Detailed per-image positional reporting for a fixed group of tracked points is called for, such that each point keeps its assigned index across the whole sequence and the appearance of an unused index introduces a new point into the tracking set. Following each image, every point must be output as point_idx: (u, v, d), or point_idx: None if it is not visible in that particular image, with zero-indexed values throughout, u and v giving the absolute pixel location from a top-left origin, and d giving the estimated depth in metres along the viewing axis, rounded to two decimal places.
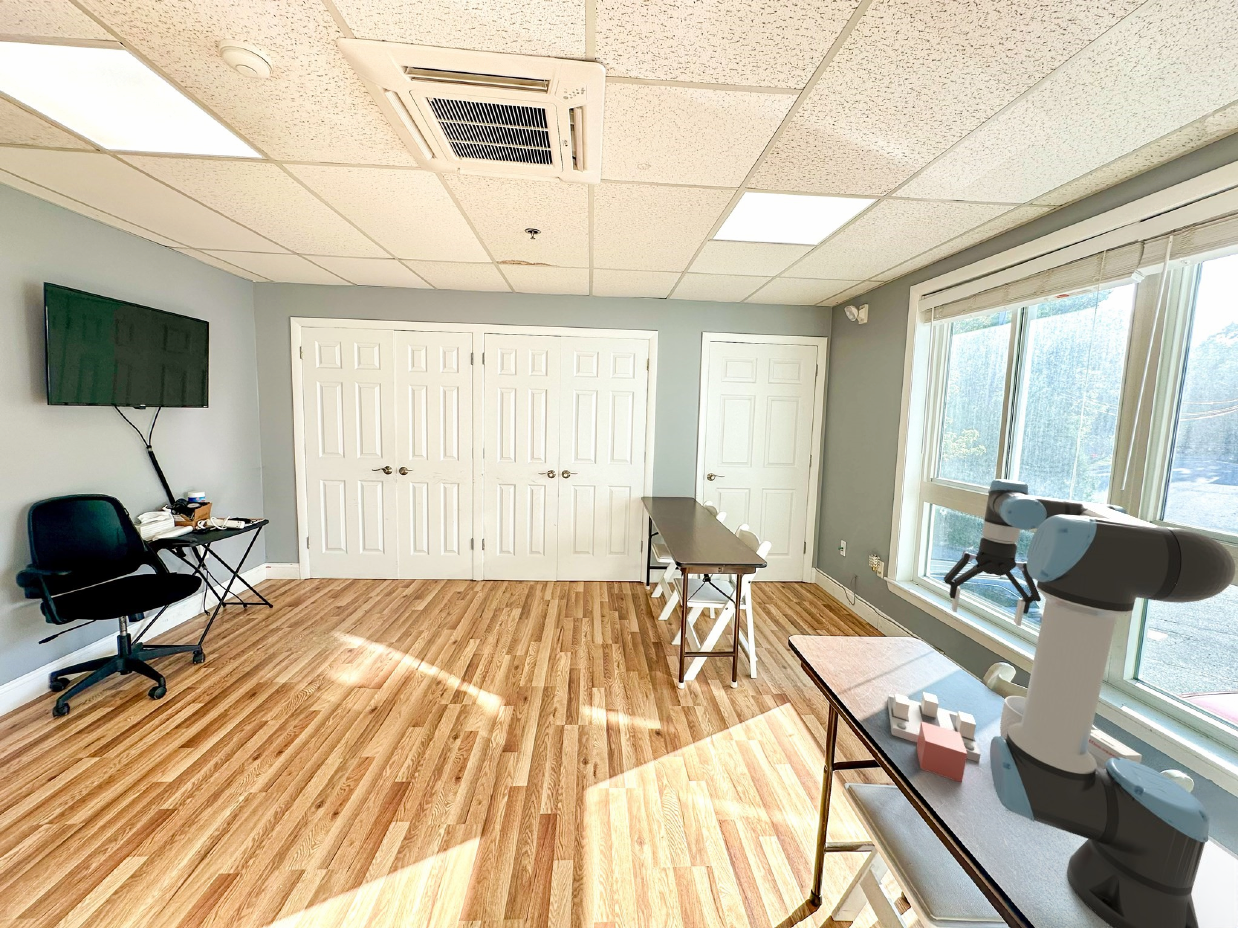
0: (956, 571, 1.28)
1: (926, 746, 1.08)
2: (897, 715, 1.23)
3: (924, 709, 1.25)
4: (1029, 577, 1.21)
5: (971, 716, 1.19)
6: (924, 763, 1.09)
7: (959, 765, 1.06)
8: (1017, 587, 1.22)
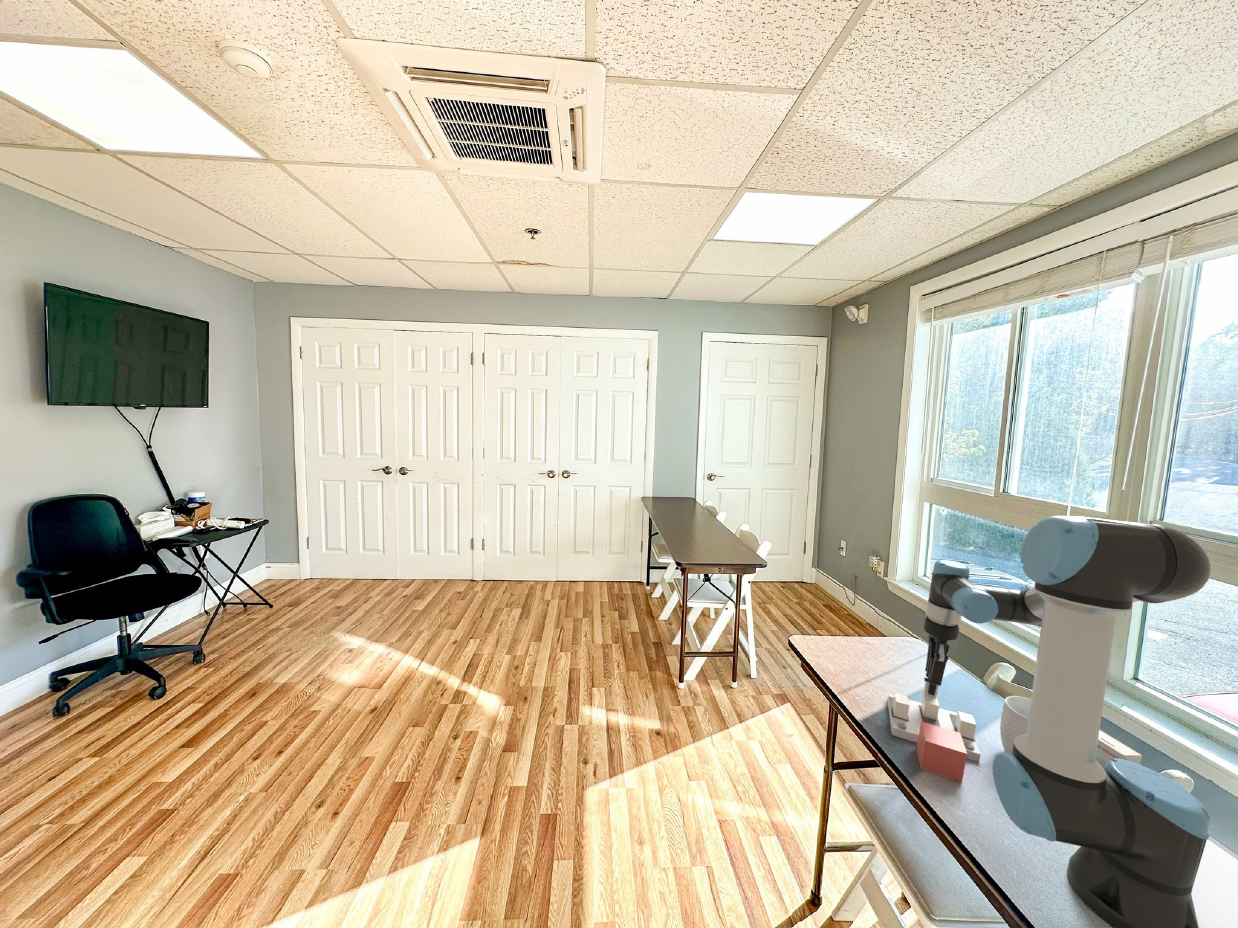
0: (927, 655, 1.30)
1: (926, 746, 1.08)
2: (897, 715, 1.23)
3: (925, 711, 1.24)
4: (933, 663, 1.22)
5: (971, 716, 1.19)
6: (924, 763, 1.09)
7: (959, 765, 1.06)
8: (930, 665, 1.26)
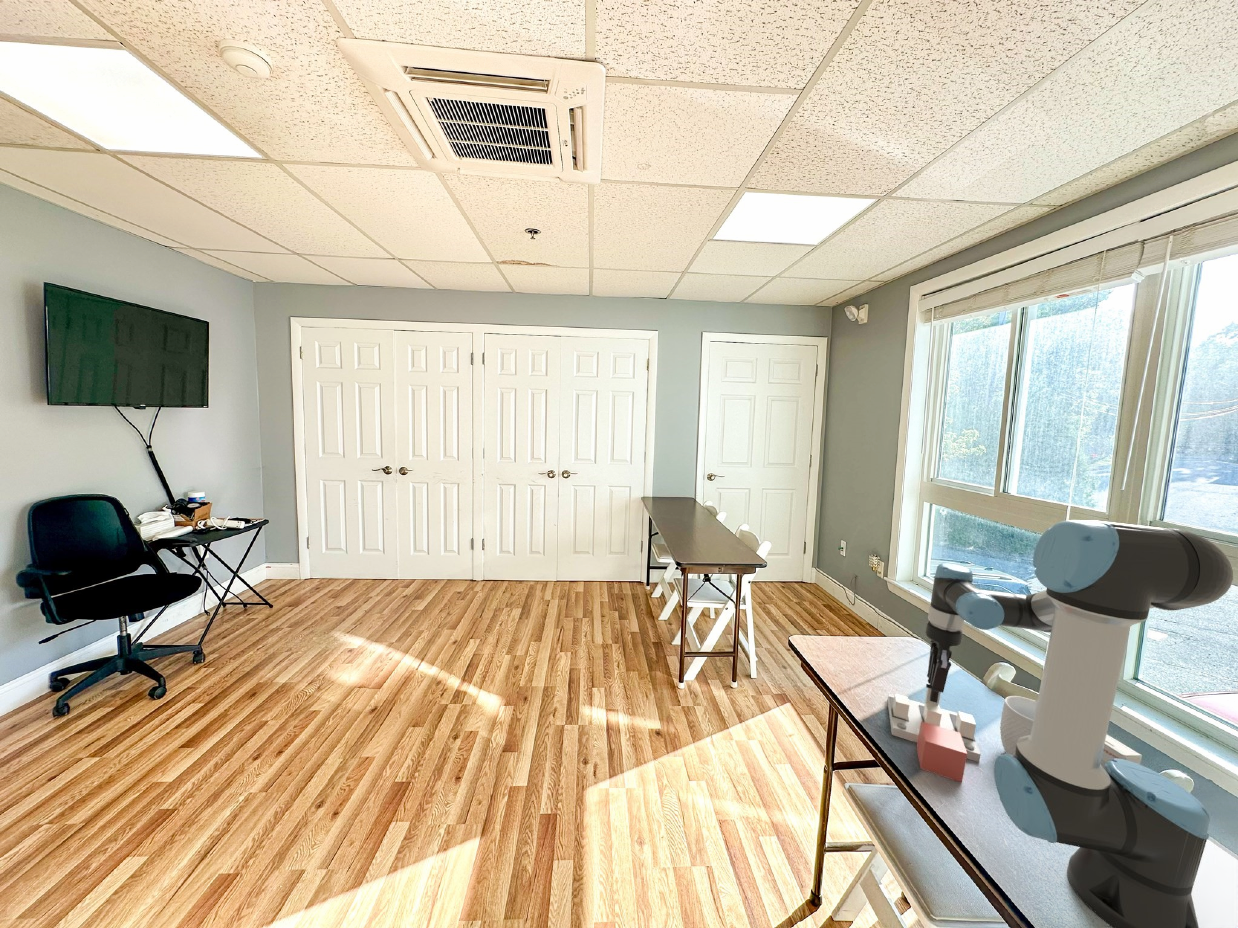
0: (929, 661, 1.27)
1: (926, 746, 1.08)
2: (897, 715, 1.23)
3: (927, 719, 1.21)
4: (935, 669, 1.19)
5: (971, 716, 1.19)
6: (924, 763, 1.09)
7: (959, 765, 1.06)
8: (932, 671, 1.23)
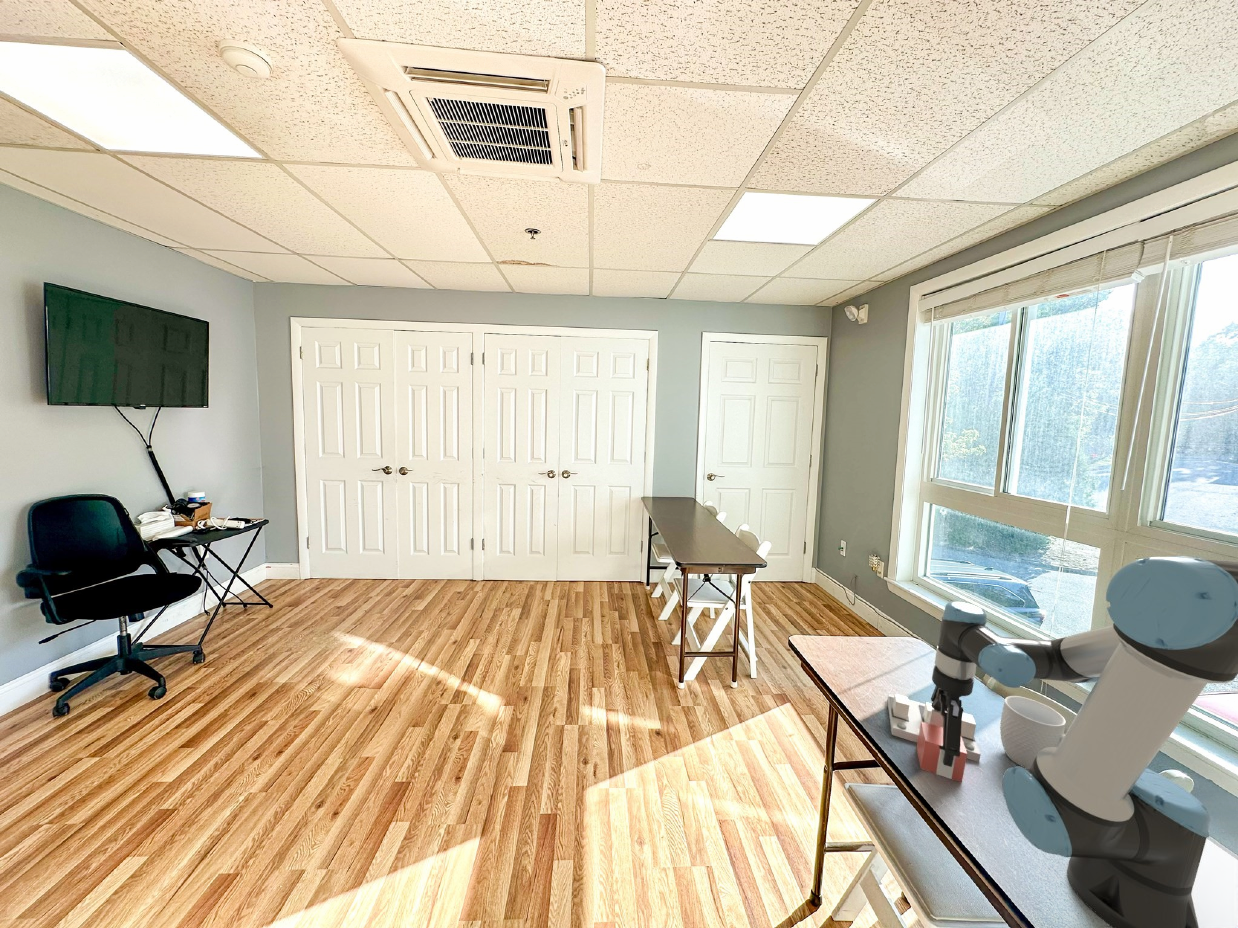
0: (934, 690, 1.17)
1: (926, 746, 1.08)
2: (897, 715, 1.23)
3: (927, 720, 1.21)
4: (947, 720, 1.03)
5: (971, 716, 1.19)
6: (924, 763, 1.09)
7: (959, 765, 1.06)
8: (943, 728, 1.05)
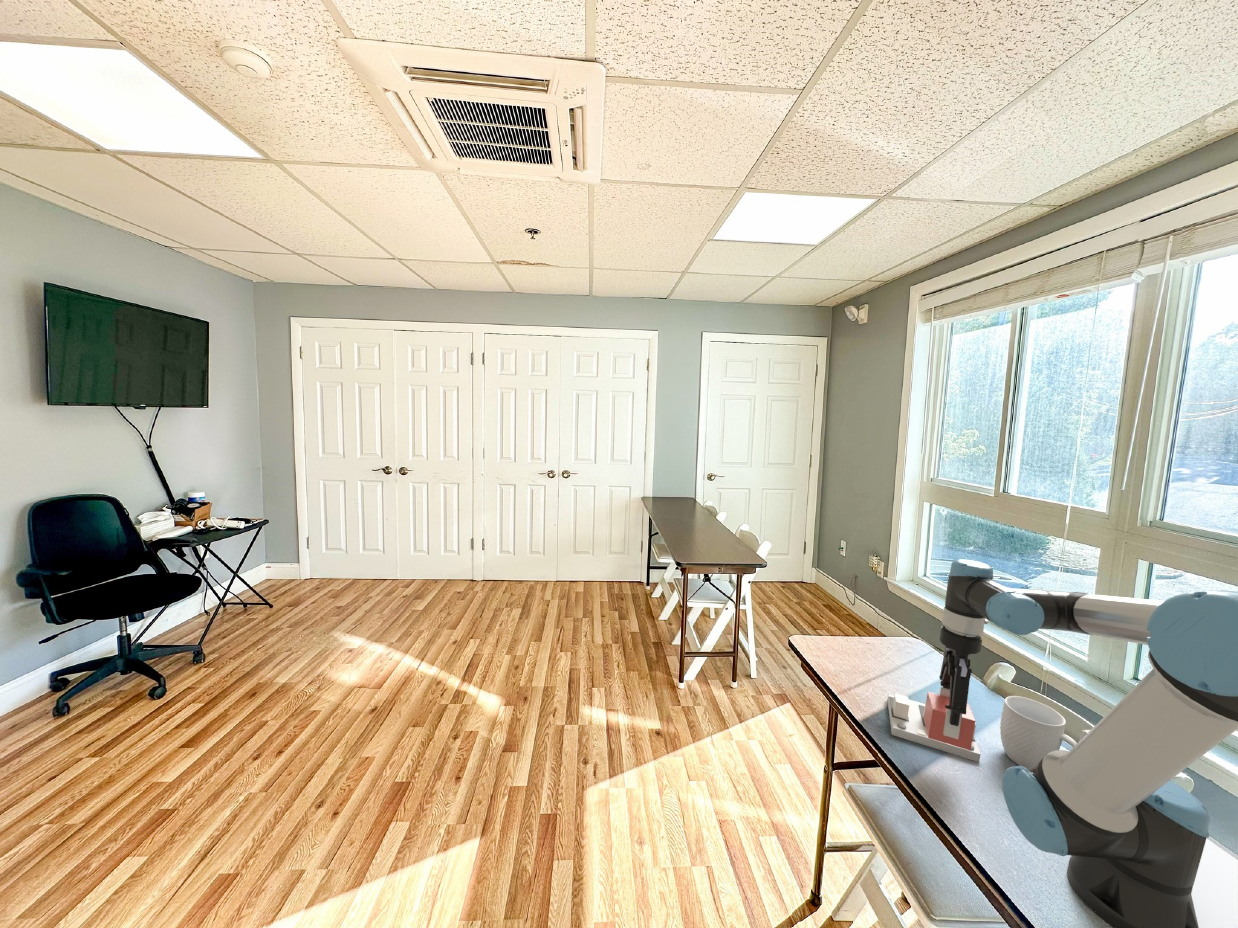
0: (942, 664, 1.14)
1: (933, 714, 1.06)
2: (897, 715, 1.23)
3: None
4: (954, 681, 1.02)
5: None
6: (932, 732, 1.07)
7: (967, 733, 1.04)
8: (950, 687, 1.05)
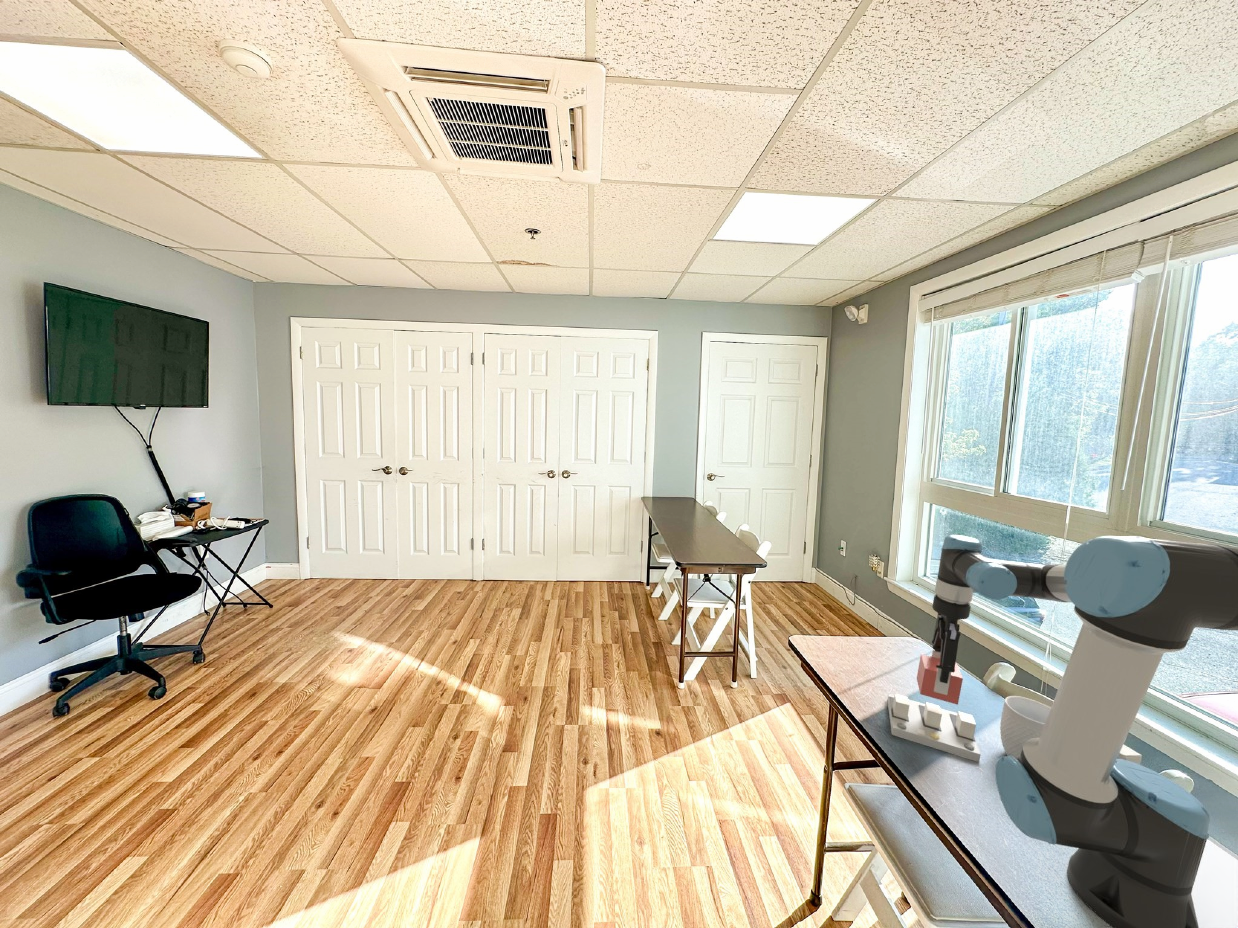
0: (935, 629, 1.25)
1: (925, 673, 1.18)
2: (897, 715, 1.23)
3: (927, 720, 1.21)
4: (945, 643, 1.14)
5: (971, 716, 1.19)
6: (923, 689, 1.19)
7: (955, 689, 1.16)
8: (941, 649, 1.17)
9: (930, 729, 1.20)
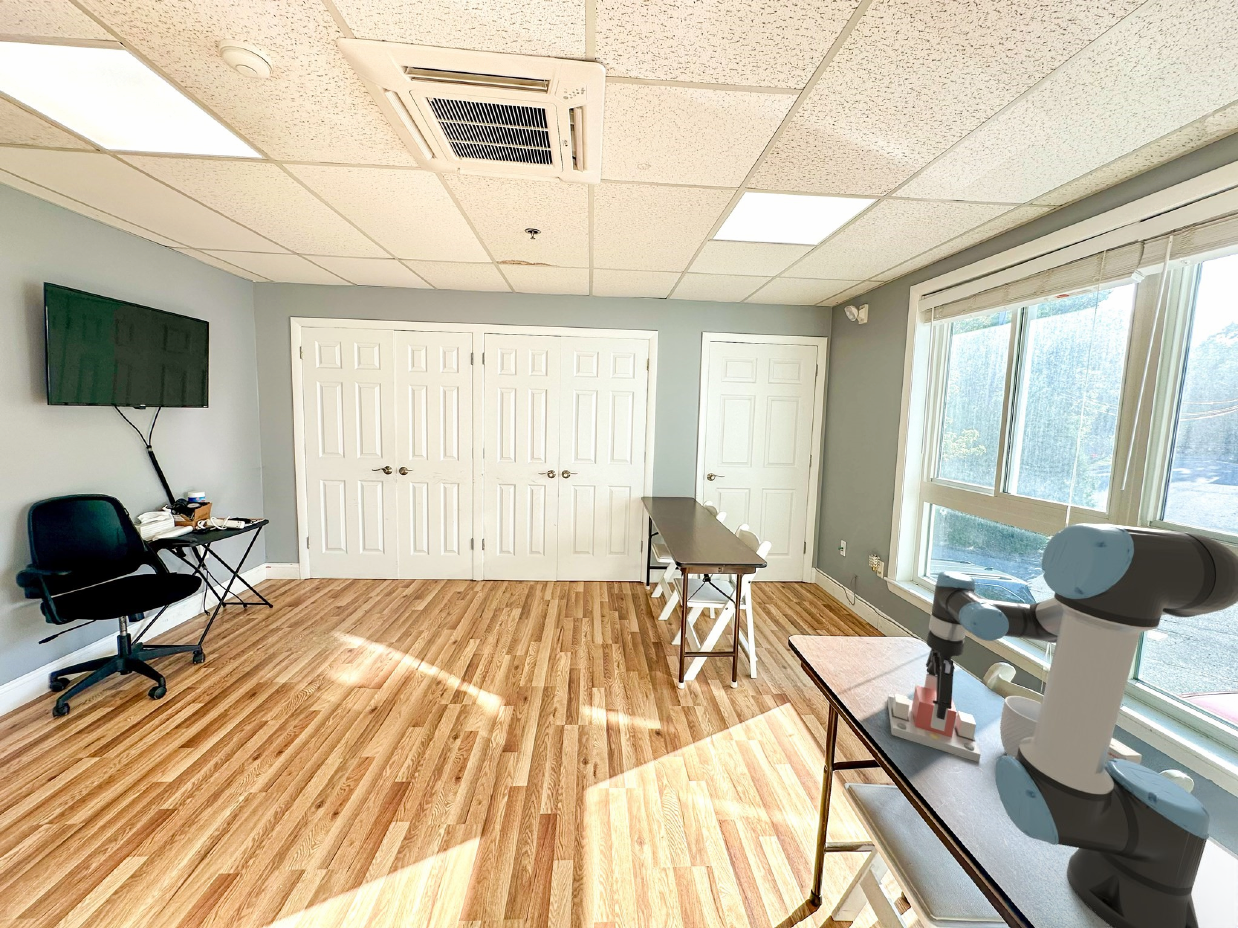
0: (929, 656, 1.28)
1: (920, 706, 1.19)
2: (897, 715, 1.23)
3: None
4: (940, 677, 1.14)
5: (971, 716, 1.19)
6: (918, 721, 1.20)
7: (949, 722, 1.17)
8: (936, 685, 1.16)
9: None
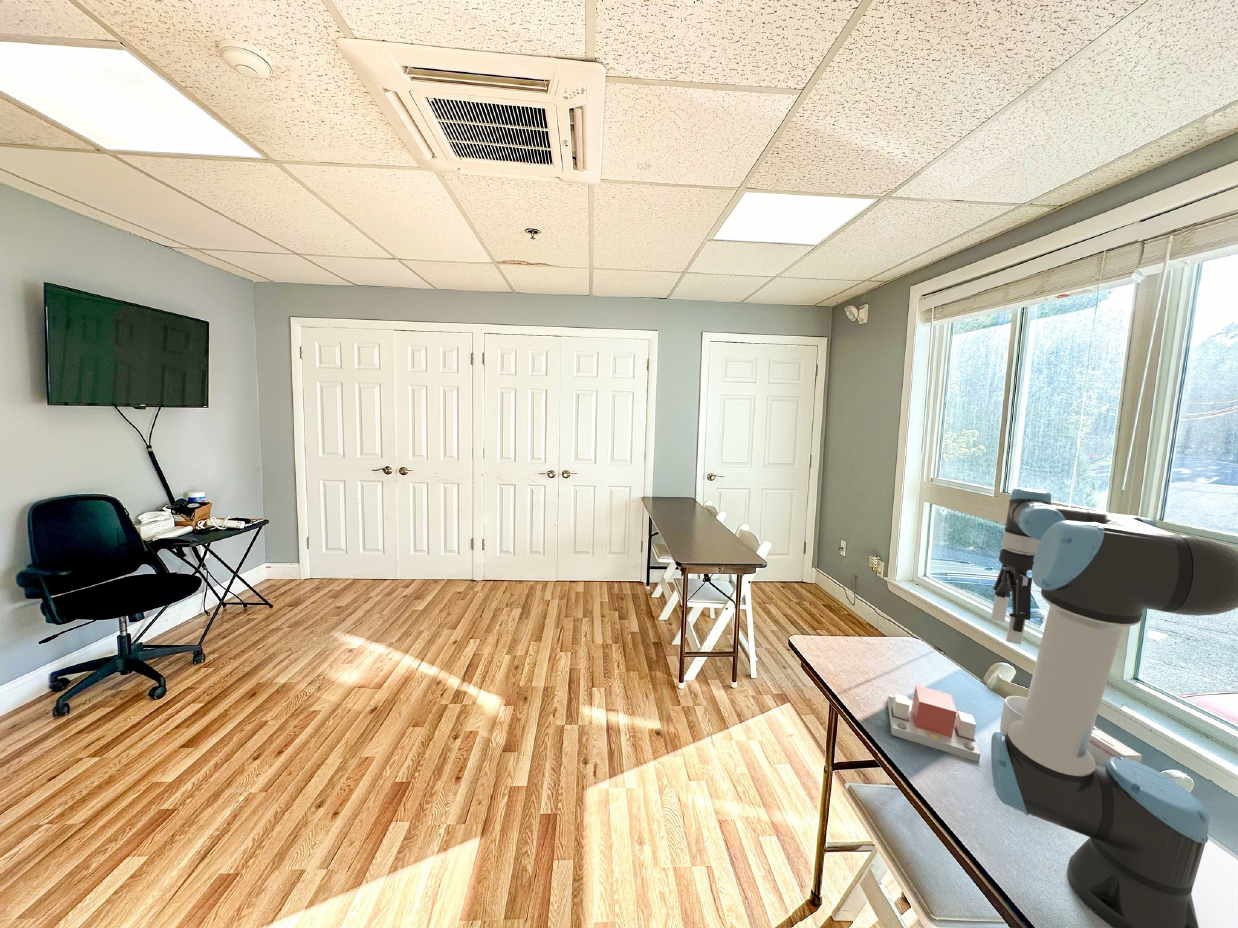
0: (998, 578, 1.28)
1: (920, 706, 1.19)
2: (897, 715, 1.23)
3: None
4: (1017, 590, 1.14)
5: (971, 716, 1.19)
6: (918, 721, 1.20)
7: (949, 722, 1.17)
8: (1012, 600, 1.16)
9: None
